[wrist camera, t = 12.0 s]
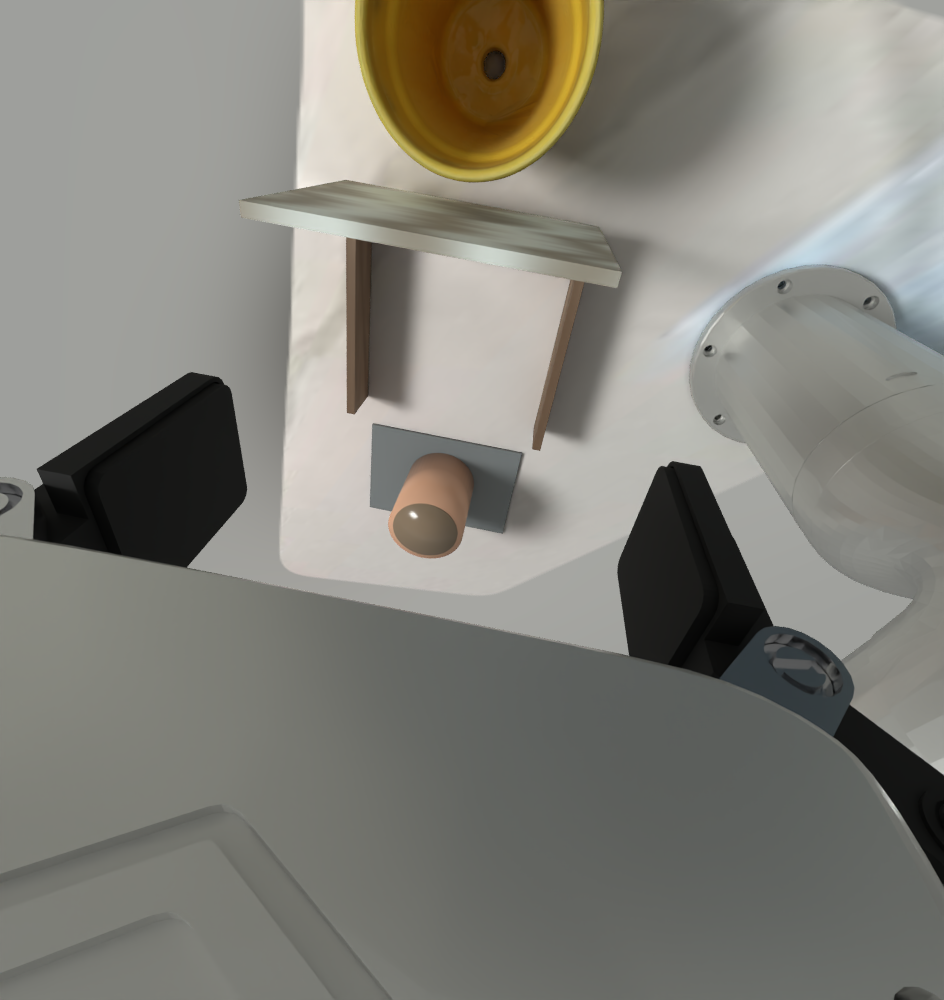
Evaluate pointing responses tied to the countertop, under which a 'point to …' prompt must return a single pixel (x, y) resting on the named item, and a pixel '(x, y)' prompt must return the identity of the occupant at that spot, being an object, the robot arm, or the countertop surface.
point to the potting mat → (485, 463)
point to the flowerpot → (432, 506)
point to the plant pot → (477, 78)
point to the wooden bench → (442, 232)
